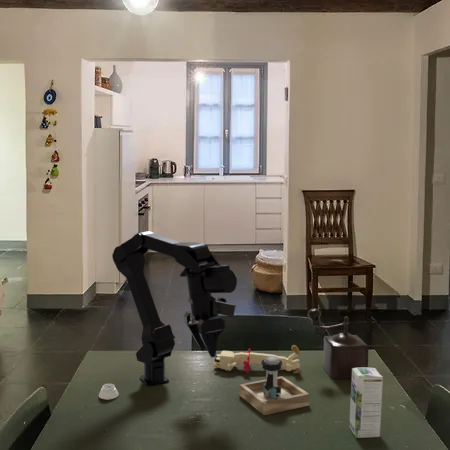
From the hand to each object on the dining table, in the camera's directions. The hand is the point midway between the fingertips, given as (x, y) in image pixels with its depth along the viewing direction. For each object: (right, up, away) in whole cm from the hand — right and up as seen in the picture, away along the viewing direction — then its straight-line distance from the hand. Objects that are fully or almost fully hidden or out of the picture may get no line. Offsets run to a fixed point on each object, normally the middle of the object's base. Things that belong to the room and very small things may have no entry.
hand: (208, 353), depth 158 cm
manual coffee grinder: (+36, -10, +20) cm, 43 cm away
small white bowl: (-26, -12, +3) cm, 29 cm away
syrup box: (+36, -15, -16) cm, 43 cm away
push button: (+17, -11, +1) cm, 20 cm away
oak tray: (+17, -12, +1) cm, 21 cm away
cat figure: (+13, -10, +22) cm, 27 cm away
